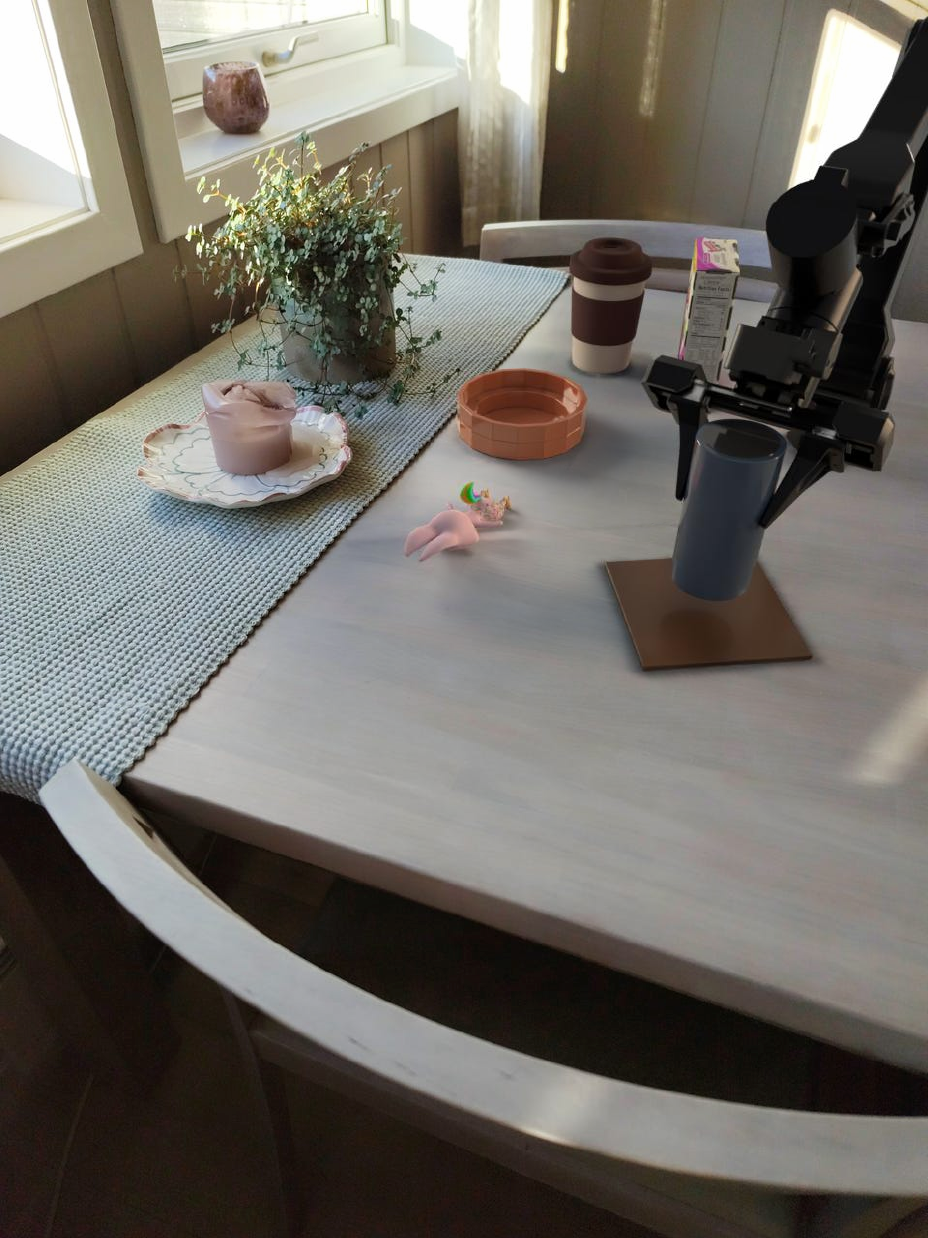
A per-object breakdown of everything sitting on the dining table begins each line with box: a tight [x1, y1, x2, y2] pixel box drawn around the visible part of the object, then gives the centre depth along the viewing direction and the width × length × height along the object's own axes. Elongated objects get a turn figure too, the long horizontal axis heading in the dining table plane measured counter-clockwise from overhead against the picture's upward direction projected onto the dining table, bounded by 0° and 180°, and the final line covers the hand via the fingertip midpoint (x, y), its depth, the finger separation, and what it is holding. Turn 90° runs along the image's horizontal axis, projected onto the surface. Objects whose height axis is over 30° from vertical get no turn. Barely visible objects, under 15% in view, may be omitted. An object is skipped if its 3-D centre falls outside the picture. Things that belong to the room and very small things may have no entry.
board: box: [604, 557, 814, 672], centre depth 75 cm, size 14×14×1 cm
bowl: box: [456, 367, 588, 461], centre depth 98 cm, size 14×14×4 cm
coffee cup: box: [568, 236, 654, 375], centre depth 108 cm, size 10×10×15 cm
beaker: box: [670, 418, 788, 601], centre depth 68 cm, size 7×7×13 cm
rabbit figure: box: [404, 481, 512, 563], centre depth 81 cm, size 6×6×15 cm
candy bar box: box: [677, 236, 741, 385], centre depth 102 cm, size 11×5×16 cm, turn 168°
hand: (719, 512), depth 67 cm, fingers closed on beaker, 6 cm apart
